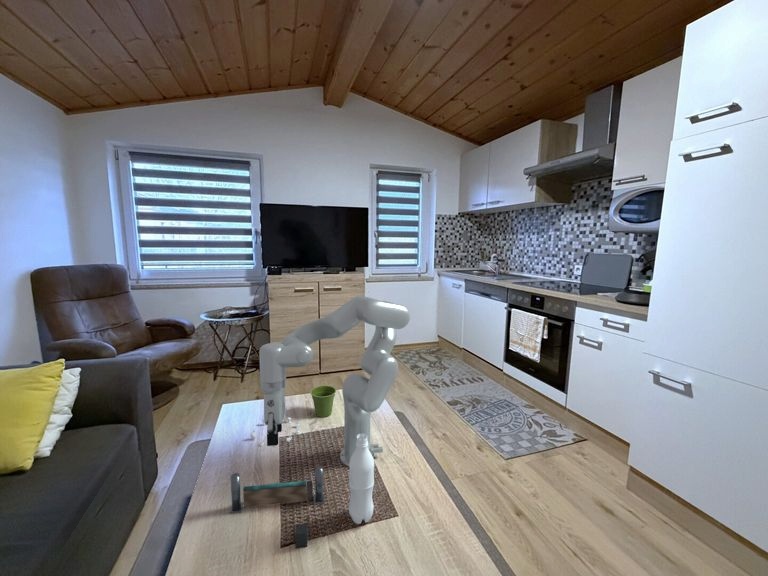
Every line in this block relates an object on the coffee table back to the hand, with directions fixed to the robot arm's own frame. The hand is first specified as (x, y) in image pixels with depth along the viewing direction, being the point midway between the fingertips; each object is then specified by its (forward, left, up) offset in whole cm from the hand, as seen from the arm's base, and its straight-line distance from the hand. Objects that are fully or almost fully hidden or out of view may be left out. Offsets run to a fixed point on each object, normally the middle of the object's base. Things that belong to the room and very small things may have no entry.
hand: (274, 437), depth 102 cm
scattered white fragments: (+5, -33, -18) cm, 38 cm away
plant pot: (-14, -46, -18) cm, 51 cm away
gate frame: (-2, +13, -18) cm, 22 cm away
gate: (-2, +7, -17) cm, 18 cm away
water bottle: (-26, +14, -18) cm, 35 cm away
